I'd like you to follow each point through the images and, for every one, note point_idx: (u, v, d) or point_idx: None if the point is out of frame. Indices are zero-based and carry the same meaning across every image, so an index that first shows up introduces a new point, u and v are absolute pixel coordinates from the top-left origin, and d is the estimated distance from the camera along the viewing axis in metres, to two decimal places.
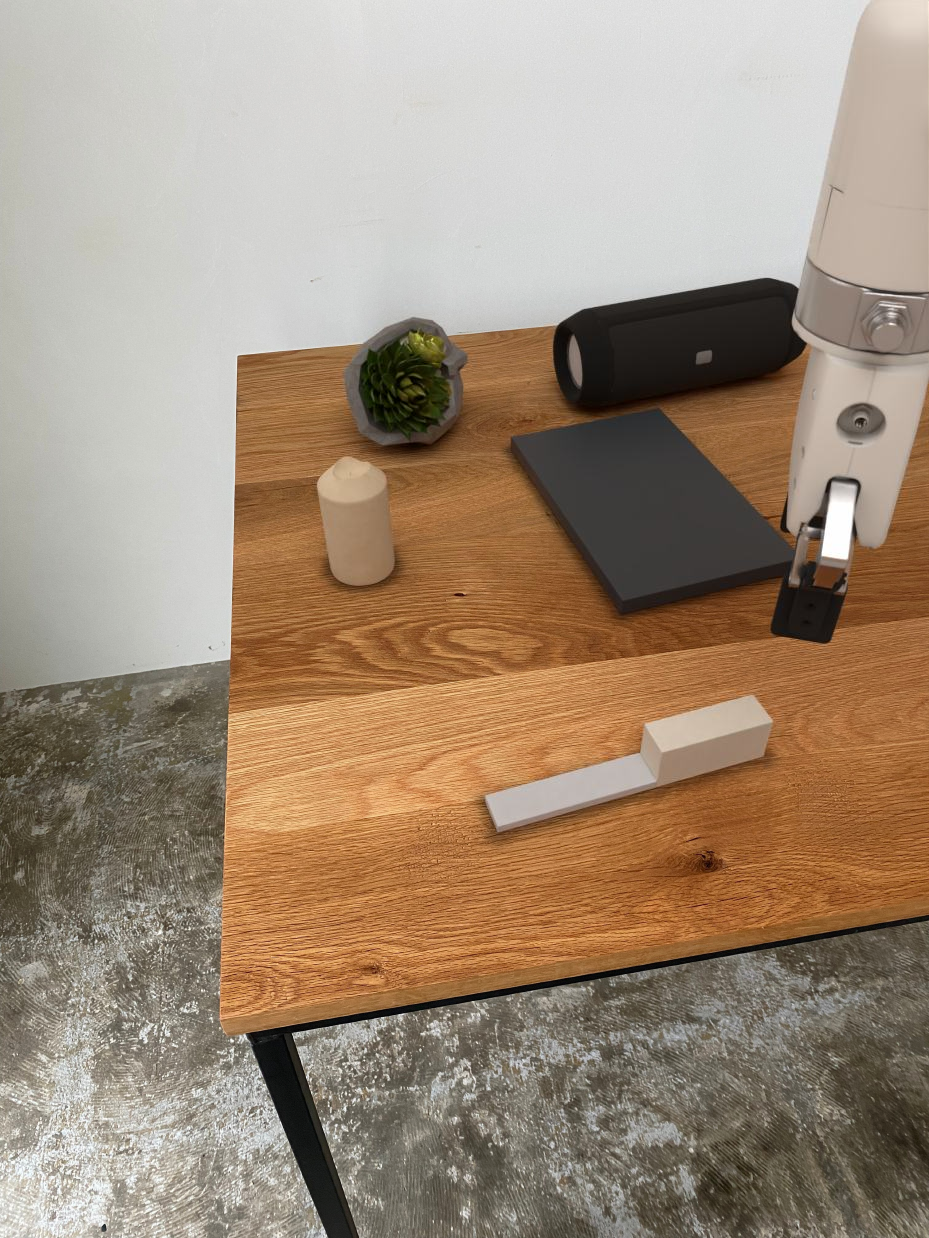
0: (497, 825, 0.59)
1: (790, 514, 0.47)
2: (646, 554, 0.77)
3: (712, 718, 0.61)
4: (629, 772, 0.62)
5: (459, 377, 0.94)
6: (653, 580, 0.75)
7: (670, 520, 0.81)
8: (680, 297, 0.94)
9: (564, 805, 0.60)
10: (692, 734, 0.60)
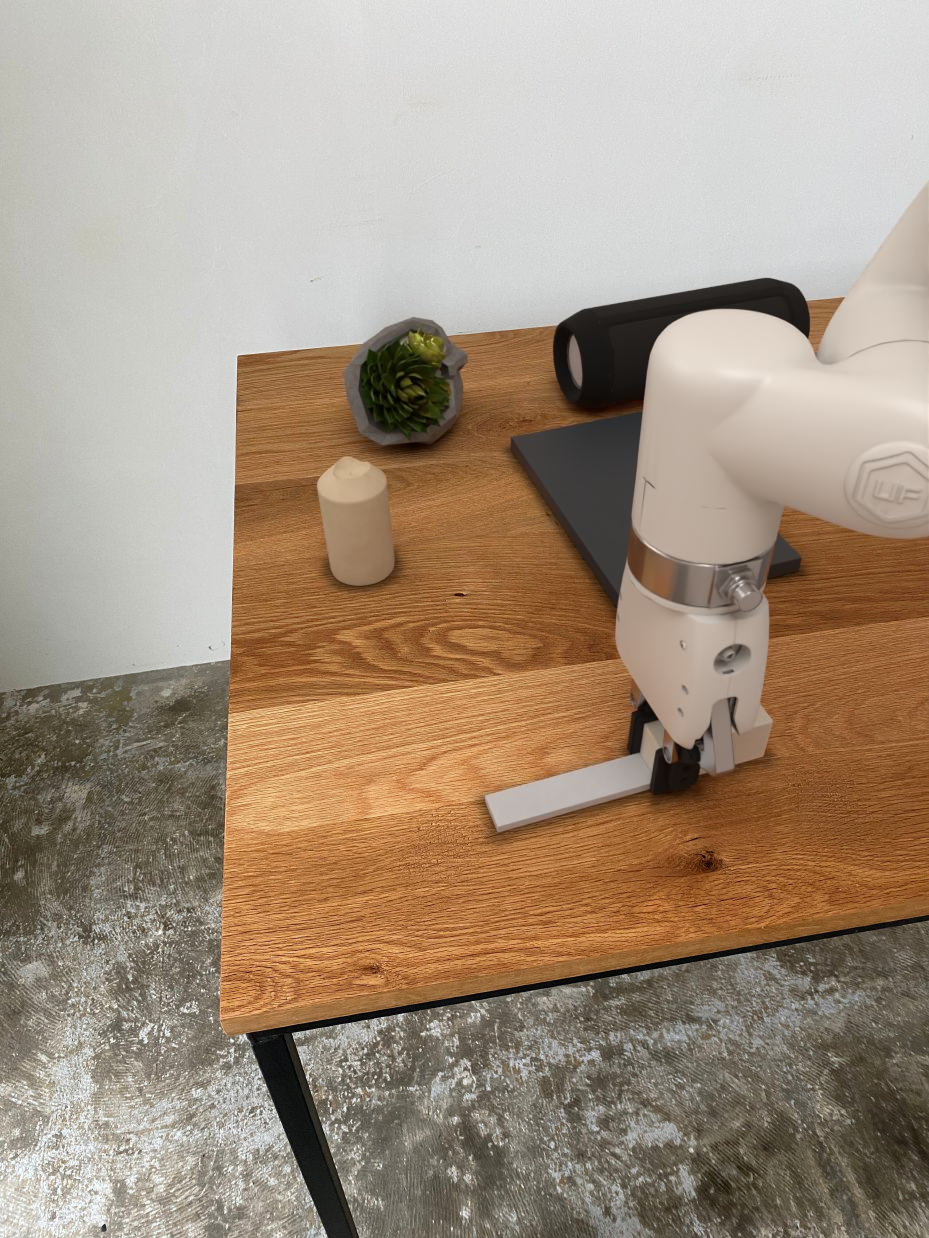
0: (497, 825, 0.59)
1: (682, 735, 0.53)
2: None
3: None
4: (629, 772, 0.62)
5: (459, 377, 0.94)
6: None
7: None
8: (680, 297, 0.94)
9: (564, 805, 0.60)
10: None
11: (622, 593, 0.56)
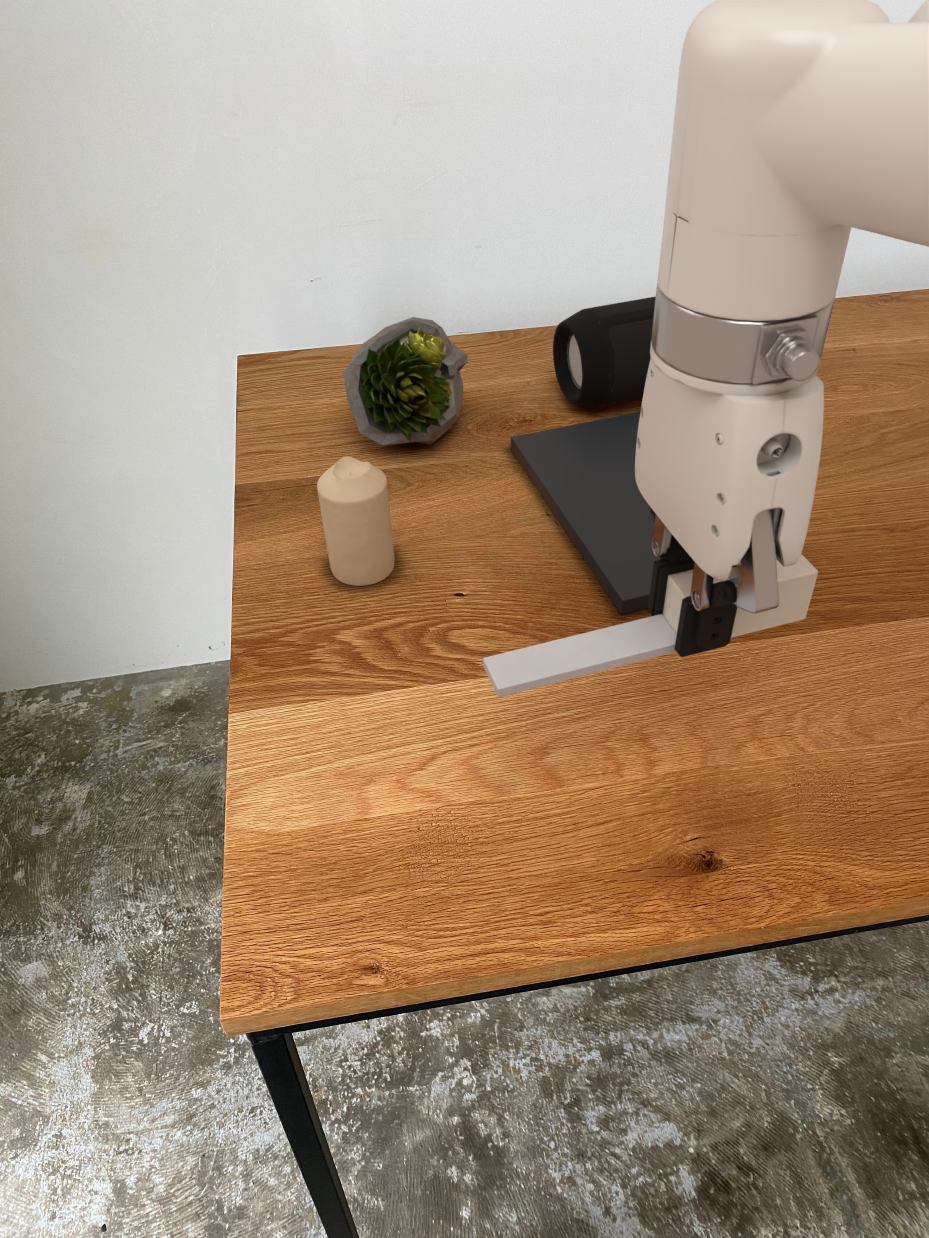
0: (497, 688, 0.50)
1: (716, 561, 0.44)
2: (646, 554, 0.77)
3: None
4: (650, 633, 0.53)
5: (459, 377, 0.94)
6: None
7: None
8: None
9: (575, 667, 0.51)
10: None
11: (644, 407, 0.48)
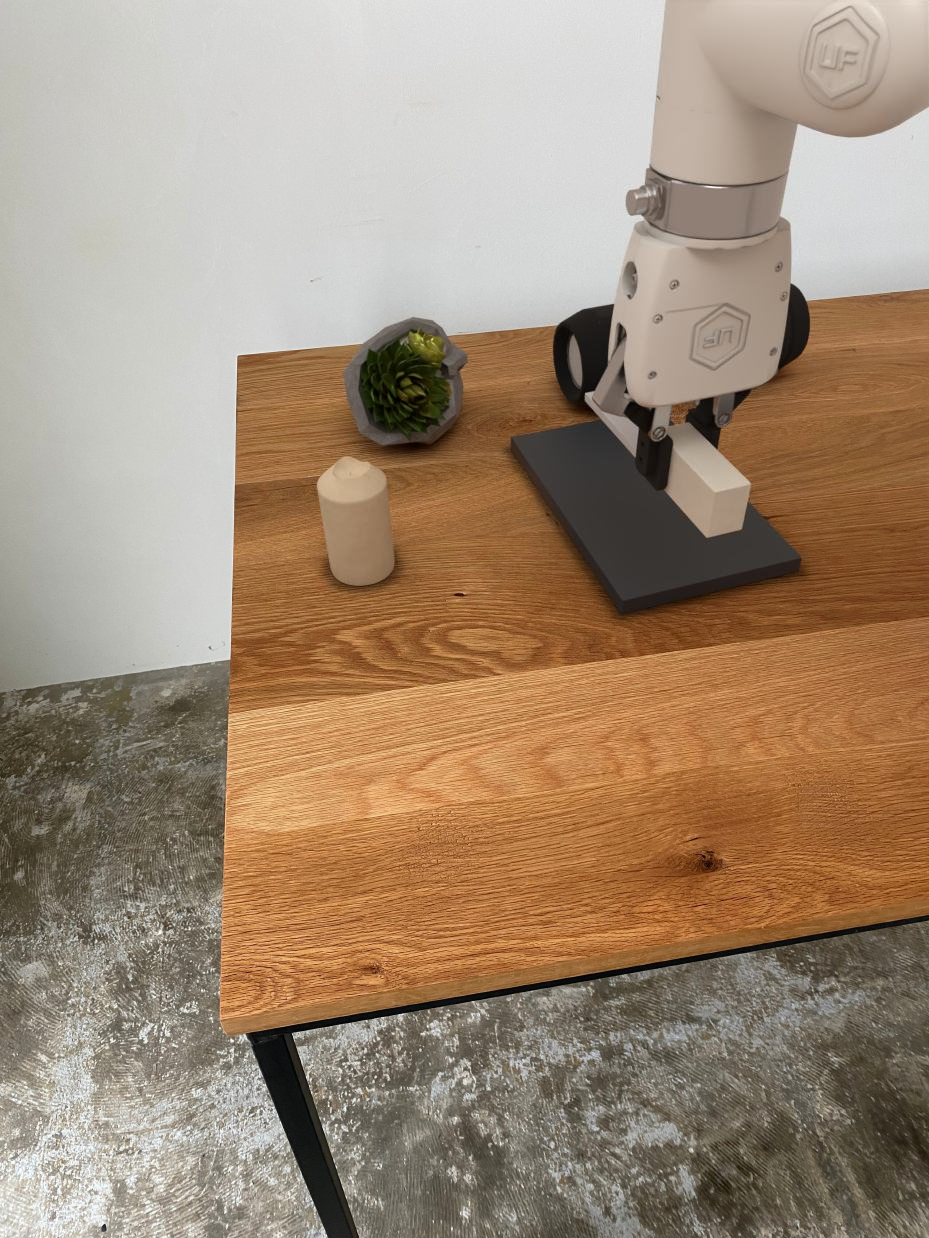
0: (586, 393, 0.73)
1: None
2: (646, 554, 0.77)
3: (707, 457, 0.60)
4: None
5: (459, 377, 0.94)
6: (653, 580, 0.75)
7: (670, 520, 0.81)
8: None
9: (612, 420, 0.70)
10: (681, 445, 0.62)
11: None
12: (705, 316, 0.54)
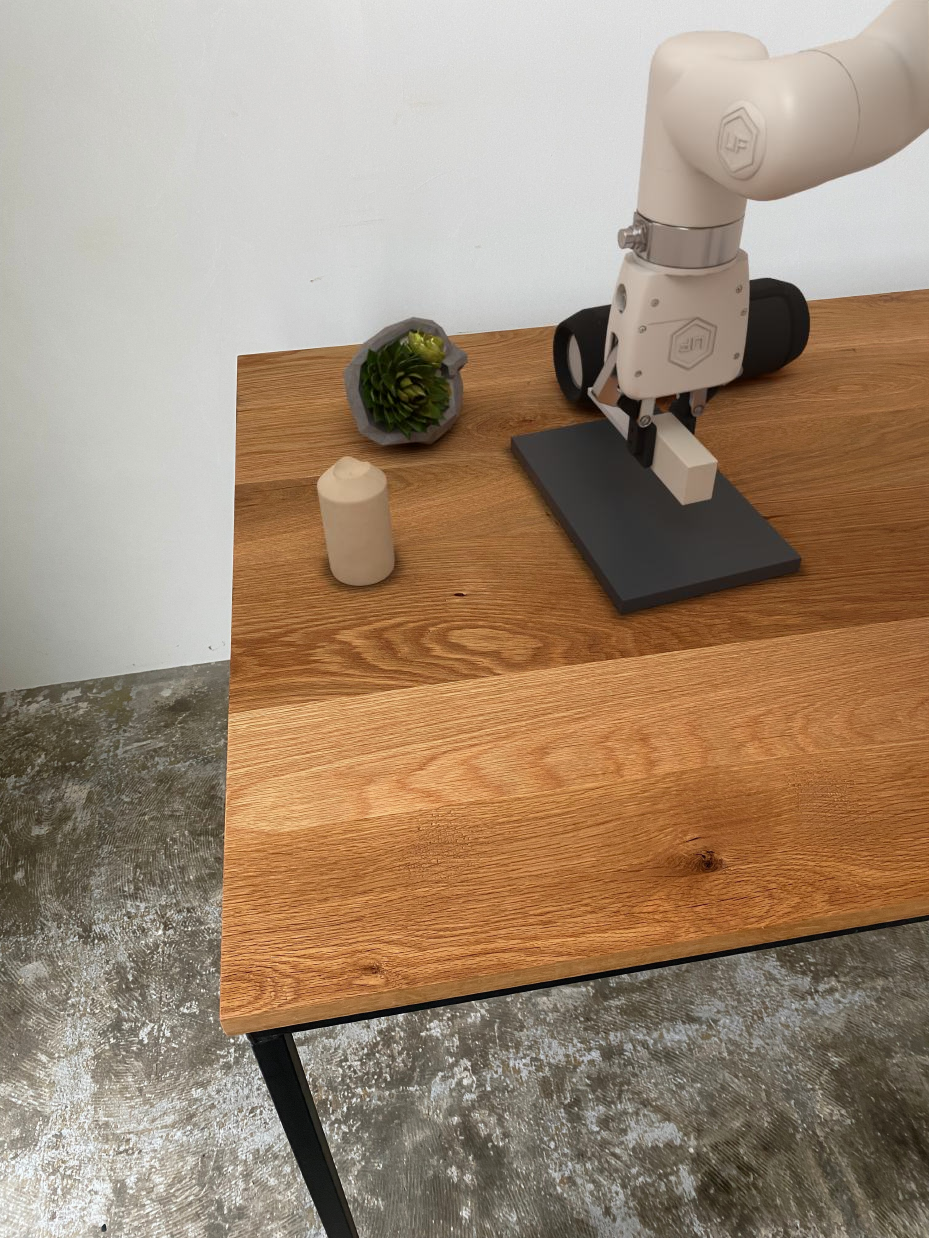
0: (589, 388, 0.87)
1: None
2: (646, 554, 0.77)
3: (683, 440, 0.75)
4: None
5: (459, 377, 0.94)
6: (653, 580, 0.75)
7: (670, 520, 0.81)
8: None
9: (609, 411, 0.84)
10: (663, 430, 0.76)
11: None
12: (680, 327, 0.68)
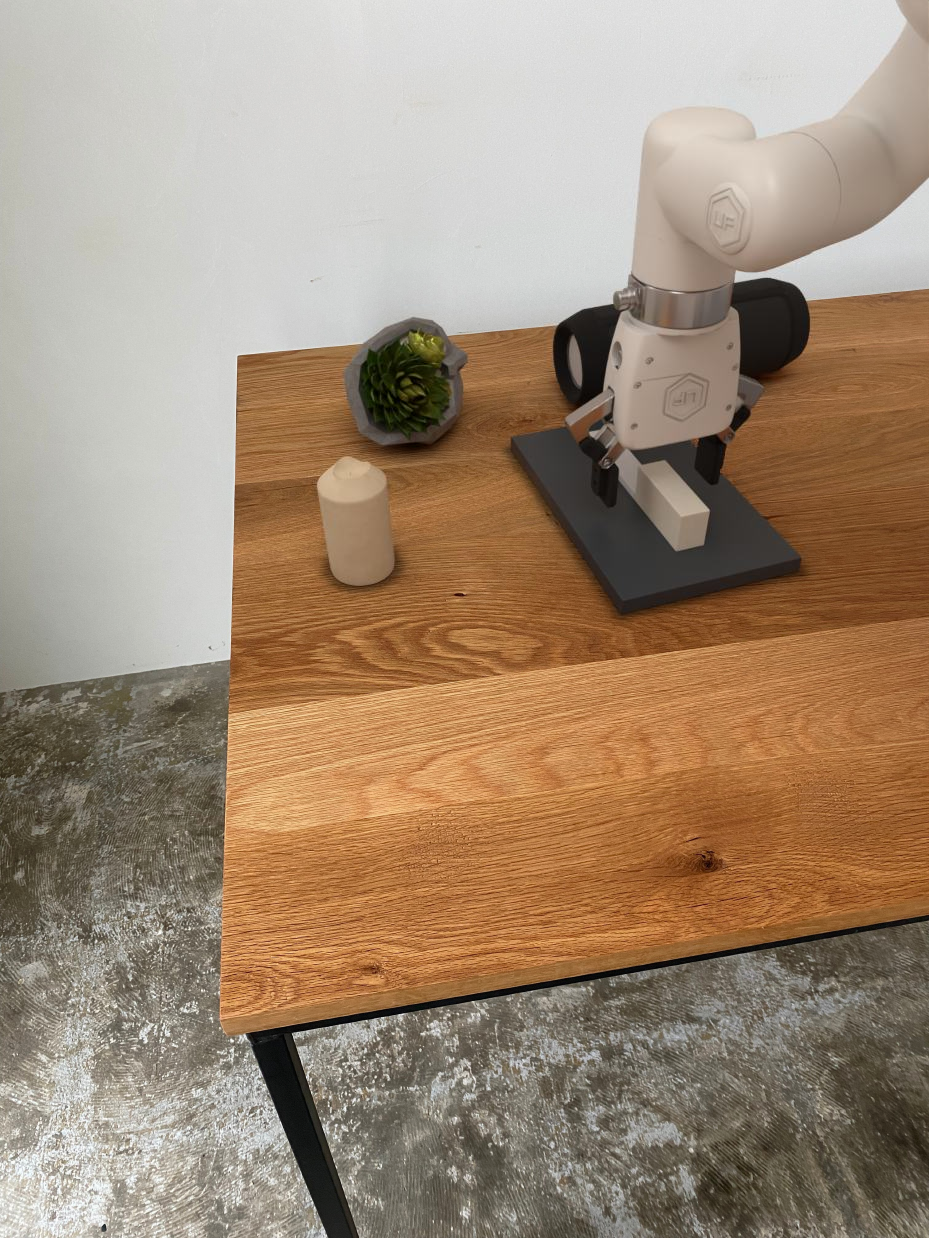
0: None
1: None
2: (646, 554, 0.77)
3: (677, 489, 0.78)
4: None
5: (459, 377, 0.94)
6: (653, 580, 0.75)
7: None
8: None
9: None
10: (658, 479, 0.79)
11: None
12: (674, 383, 0.71)
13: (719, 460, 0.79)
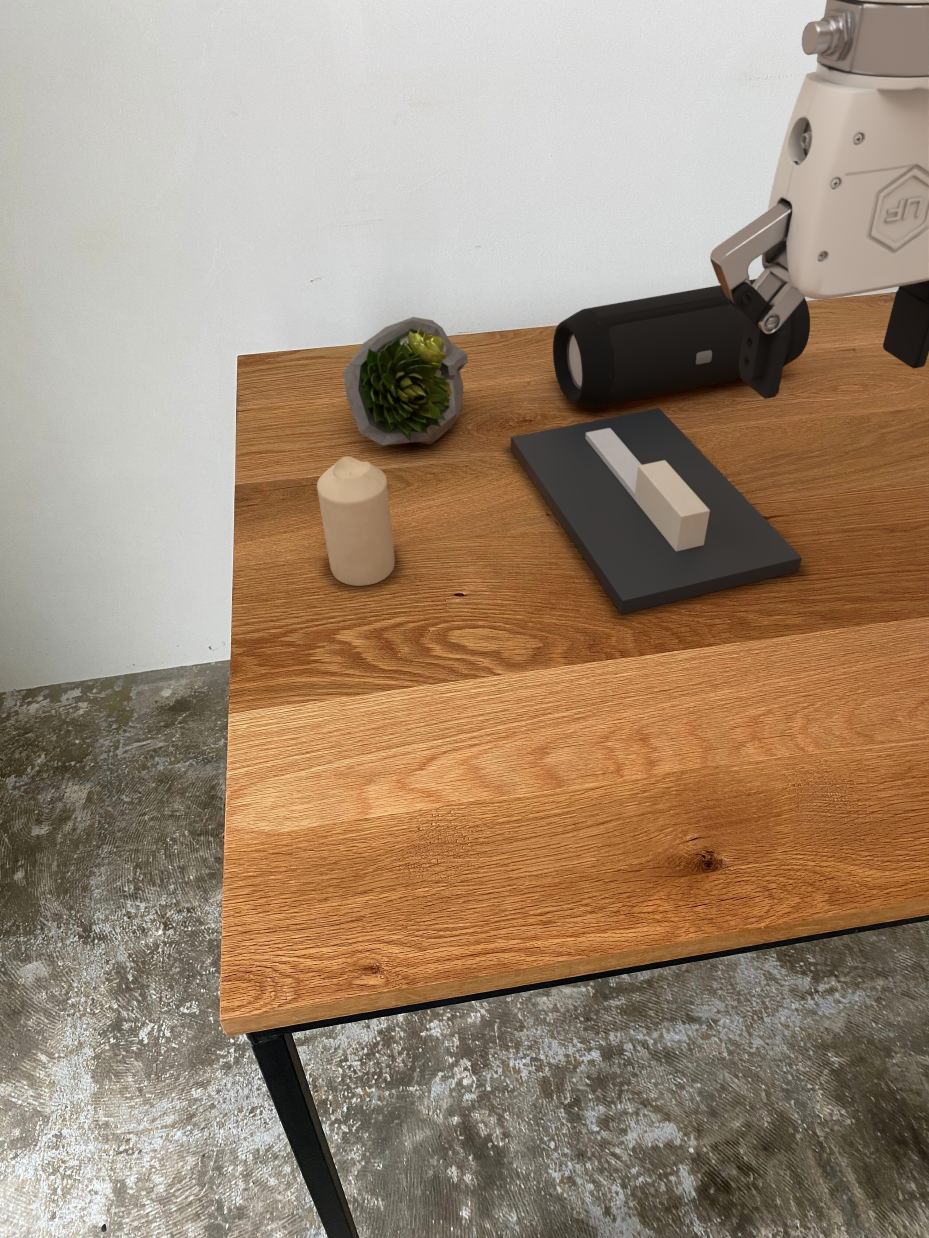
0: (586, 433, 0.91)
1: None
2: (646, 554, 0.77)
3: (677, 489, 0.78)
4: None
5: (459, 377, 0.94)
6: (653, 580, 0.75)
7: None
8: (680, 297, 0.94)
9: (606, 456, 0.87)
10: (658, 479, 0.79)
11: None
12: (891, 181, 0.46)
13: None
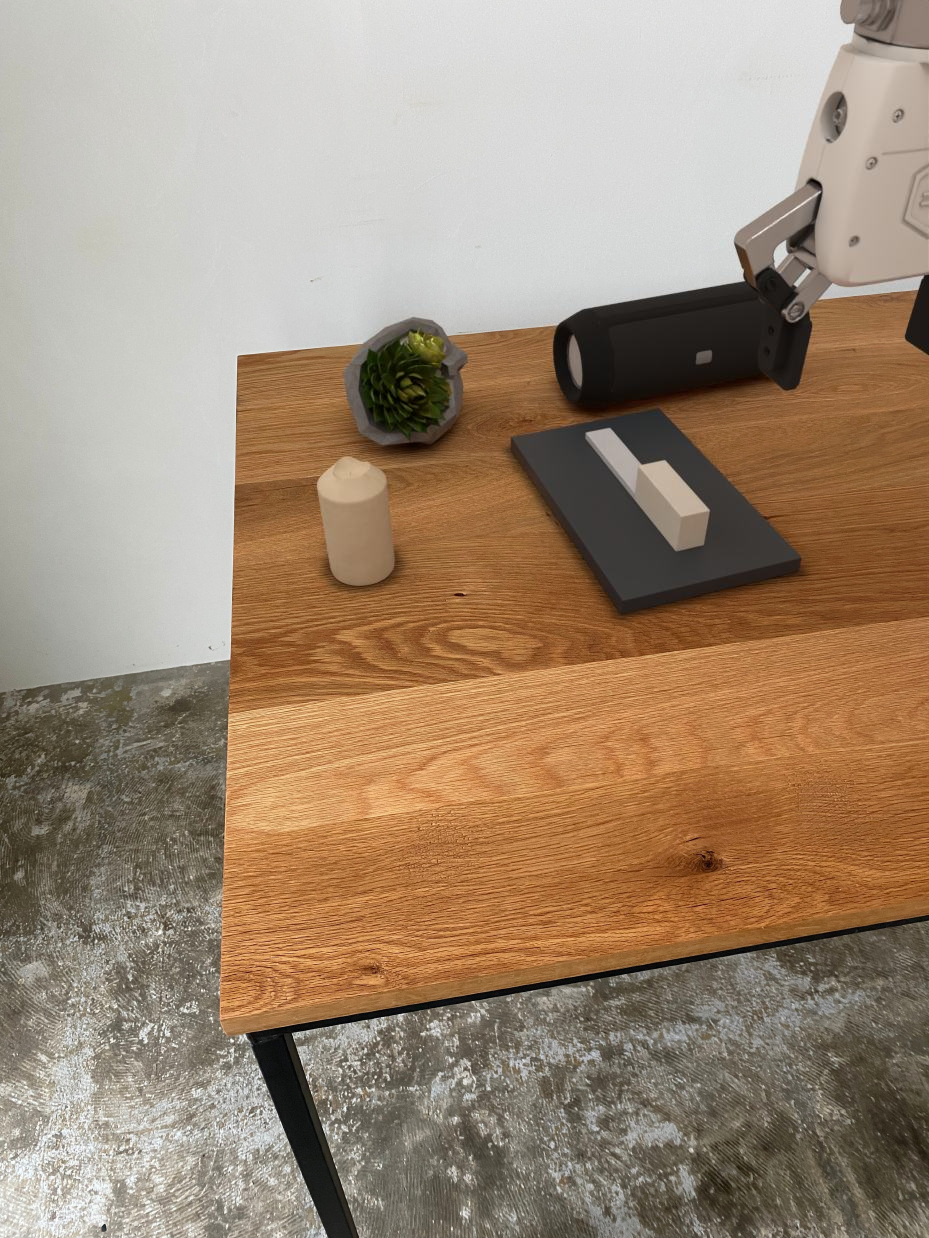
0: (586, 433, 0.91)
1: None
2: (646, 554, 0.77)
3: (677, 489, 0.78)
4: None
5: (459, 377, 0.94)
6: (653, 580, 0.75)
7: None
8: (680, 297, 0.94)
9: (606, 456, 0.87)
10: (658, 479, 0.79)
11: None
12: None
13: None
